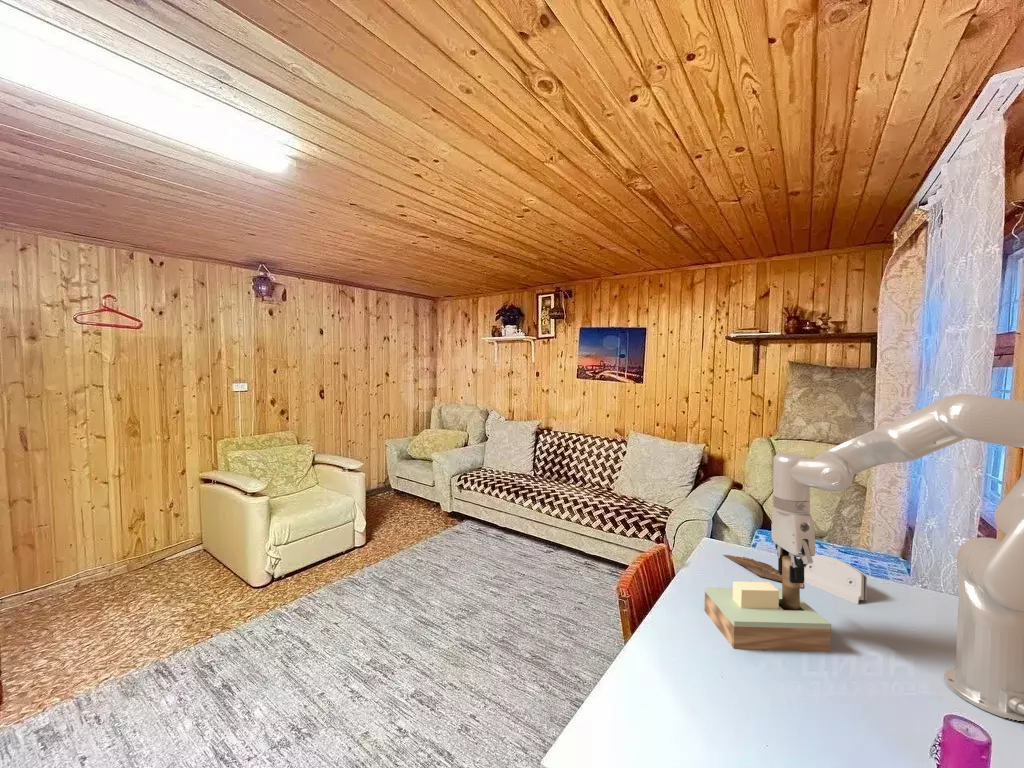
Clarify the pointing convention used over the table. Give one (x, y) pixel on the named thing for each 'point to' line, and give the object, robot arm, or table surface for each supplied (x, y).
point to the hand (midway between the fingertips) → (790, 577)
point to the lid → (762, 607)
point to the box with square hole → (768, 634)
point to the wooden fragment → (759, 568)
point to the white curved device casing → (836, 578)
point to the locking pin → (789, 587)
